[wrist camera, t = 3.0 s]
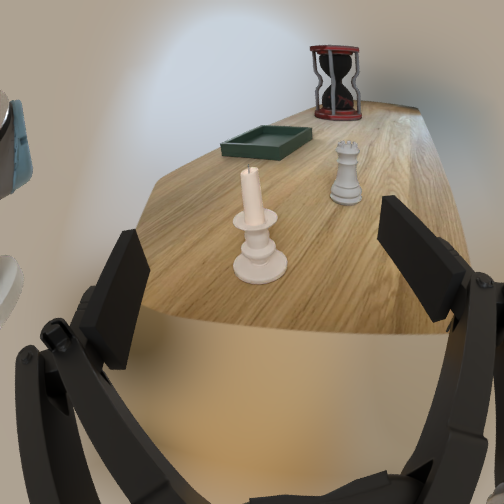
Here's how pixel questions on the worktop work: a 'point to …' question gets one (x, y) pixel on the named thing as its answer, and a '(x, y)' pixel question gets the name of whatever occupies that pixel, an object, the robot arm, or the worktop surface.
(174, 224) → the worktop surface
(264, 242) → the candle
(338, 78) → the hourglass
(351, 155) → the rook chess piece
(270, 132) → the tray
